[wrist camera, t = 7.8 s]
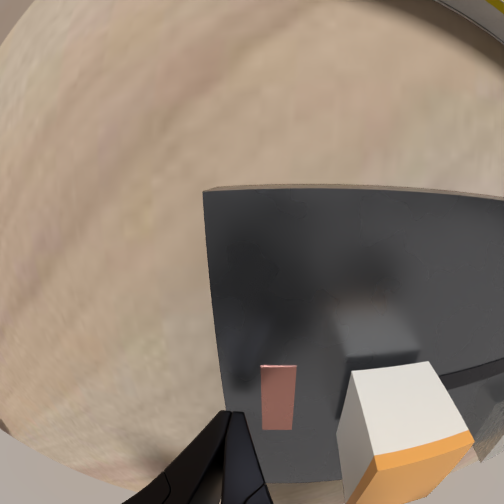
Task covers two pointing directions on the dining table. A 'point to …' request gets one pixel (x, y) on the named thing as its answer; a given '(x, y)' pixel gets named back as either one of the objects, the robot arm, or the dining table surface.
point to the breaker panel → (352, 307)
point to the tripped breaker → (398, 434)
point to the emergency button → (481, 14)
